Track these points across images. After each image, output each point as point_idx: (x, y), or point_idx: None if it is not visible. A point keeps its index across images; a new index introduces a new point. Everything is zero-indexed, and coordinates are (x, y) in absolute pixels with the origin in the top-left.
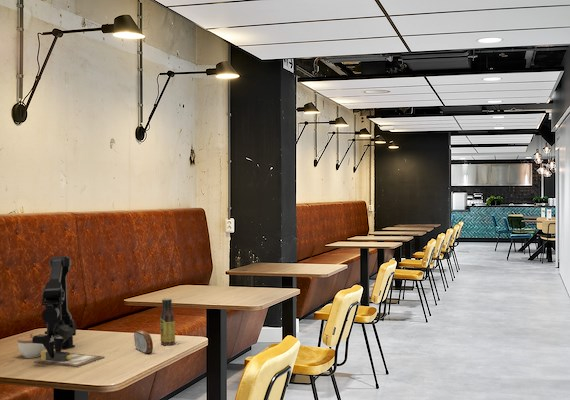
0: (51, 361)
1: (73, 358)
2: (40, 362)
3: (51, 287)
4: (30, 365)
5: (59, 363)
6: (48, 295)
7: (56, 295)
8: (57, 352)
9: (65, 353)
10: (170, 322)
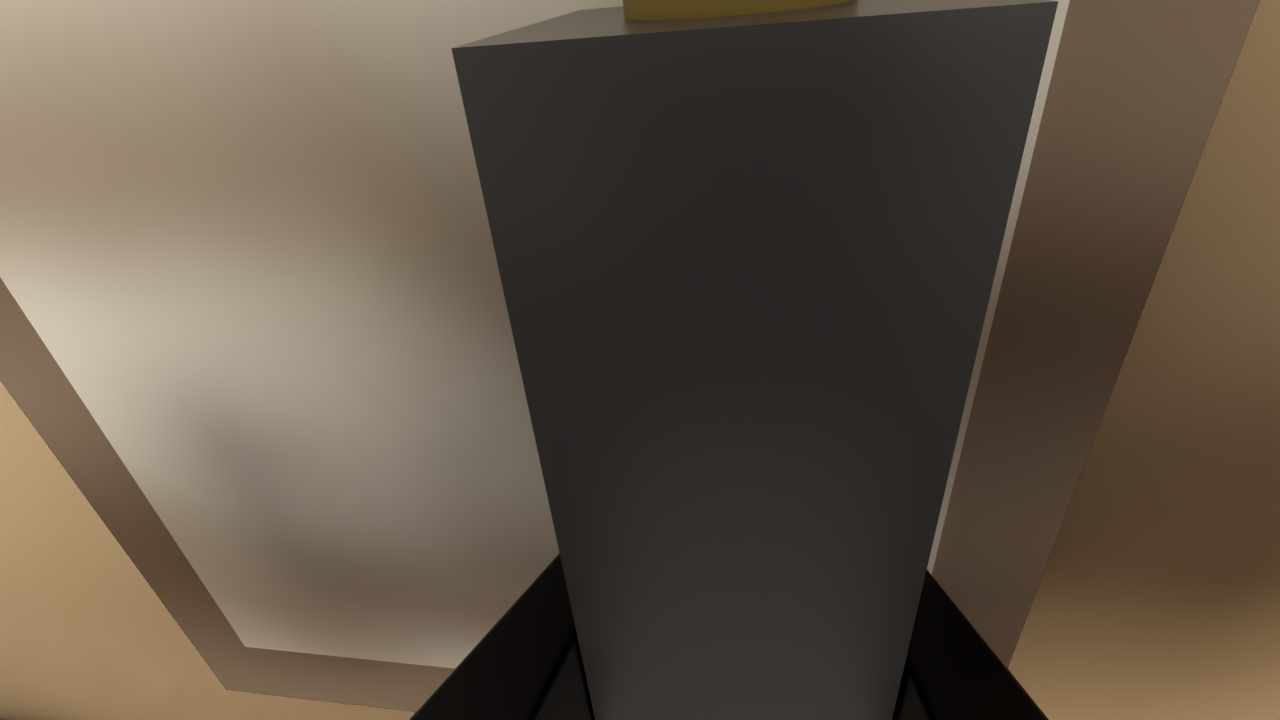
0: (952, 471)
1: (334, 97)
2: (998, 655)
3: None
4: (1235, 703)
5: (1209, 5)
6: None
7: None
8: (739, 625)
9: (803, 102)
10: None
